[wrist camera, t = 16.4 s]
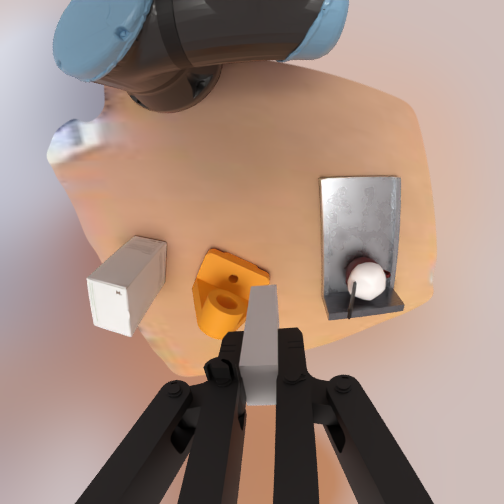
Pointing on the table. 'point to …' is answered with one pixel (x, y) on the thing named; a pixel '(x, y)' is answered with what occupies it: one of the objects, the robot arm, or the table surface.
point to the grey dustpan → (359, 239)
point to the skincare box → (127, 284)
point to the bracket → (224, 292)
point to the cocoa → (365, 280)
